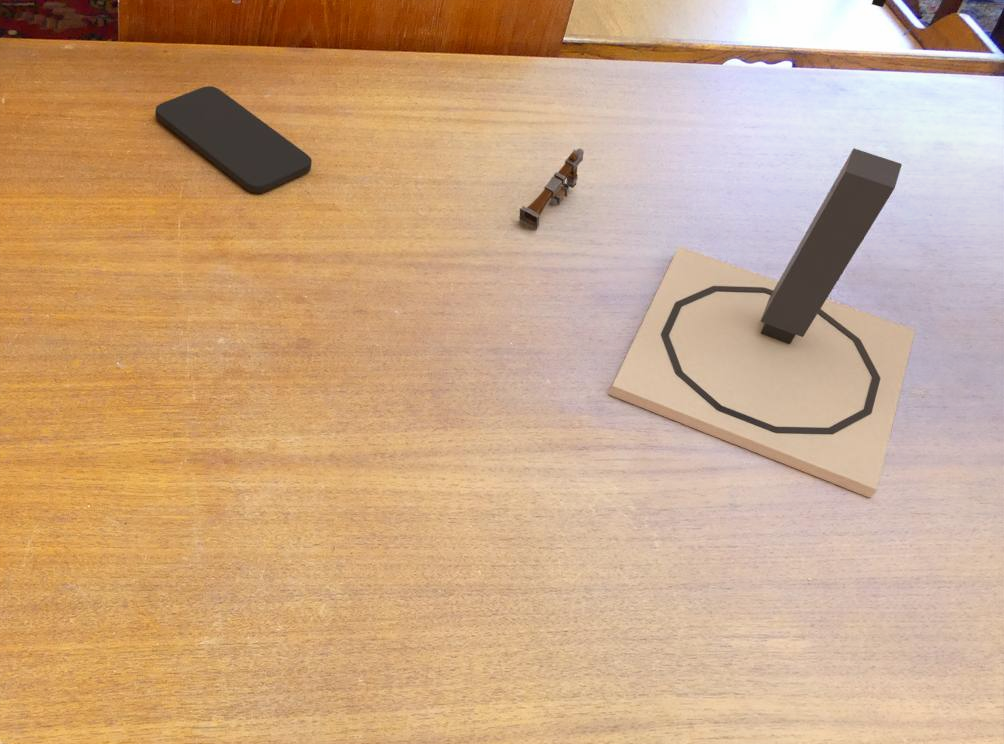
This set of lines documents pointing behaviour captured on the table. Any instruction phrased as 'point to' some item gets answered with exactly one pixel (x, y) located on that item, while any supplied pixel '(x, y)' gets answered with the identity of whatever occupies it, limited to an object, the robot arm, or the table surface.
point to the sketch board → (768, 372)
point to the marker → (829, 244)
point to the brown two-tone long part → (553, 189)
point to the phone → (233, 139)
